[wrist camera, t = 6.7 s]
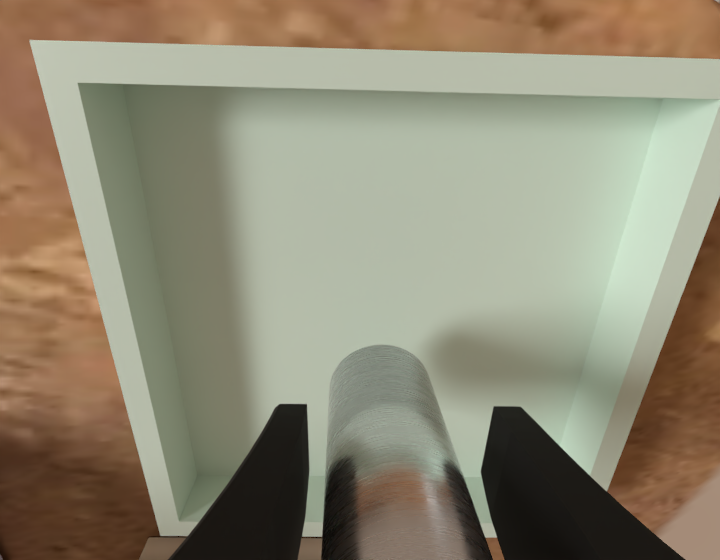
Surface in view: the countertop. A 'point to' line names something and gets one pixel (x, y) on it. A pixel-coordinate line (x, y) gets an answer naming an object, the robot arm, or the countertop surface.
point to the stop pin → (393, 466)
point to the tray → (379, 237)
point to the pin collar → (163, 548)
